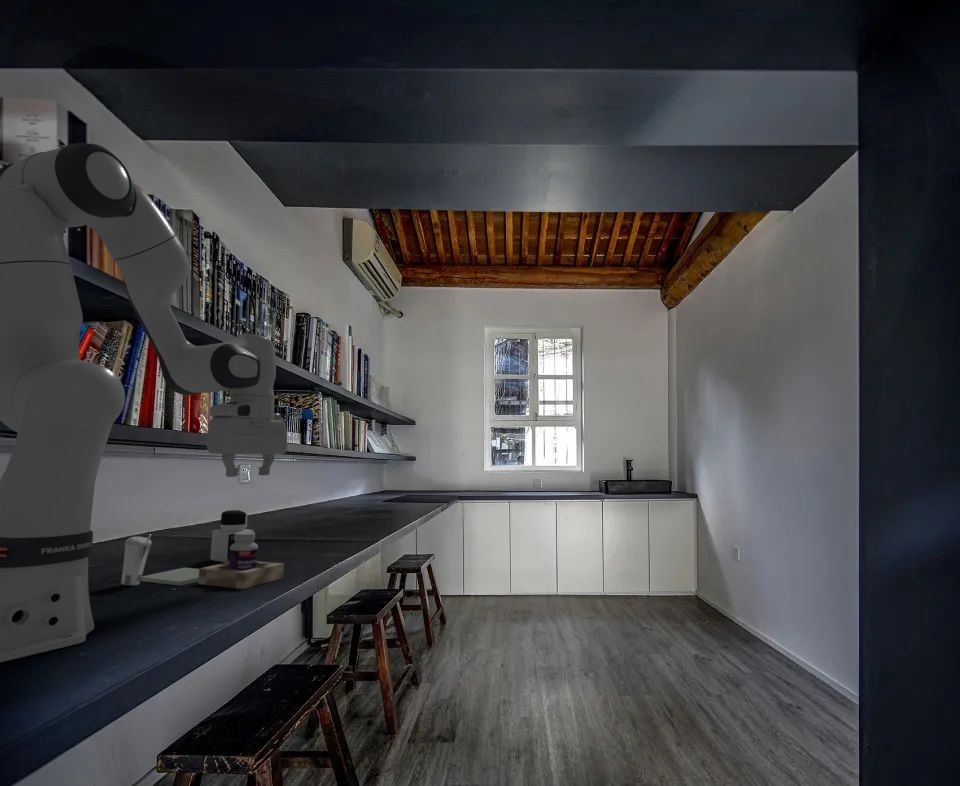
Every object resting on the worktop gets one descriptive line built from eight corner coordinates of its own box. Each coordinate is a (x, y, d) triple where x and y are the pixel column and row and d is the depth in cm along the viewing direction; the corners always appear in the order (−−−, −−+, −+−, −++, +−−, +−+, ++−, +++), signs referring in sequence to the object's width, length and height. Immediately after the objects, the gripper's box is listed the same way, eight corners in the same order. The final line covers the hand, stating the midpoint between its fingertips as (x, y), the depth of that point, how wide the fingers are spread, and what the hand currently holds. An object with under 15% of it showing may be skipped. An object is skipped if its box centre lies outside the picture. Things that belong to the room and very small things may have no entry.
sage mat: (180, 585, 112) (180, 581, 112) (139, 580, 116) (139, 576, 116) (222, 575, 122) (223, 571, 122) (184, 571, 126) (184, 567, 126)
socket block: (243, 589, 110) (244, 572, 110) (198, 583, 114) (199, 567, 114) (283, 578, 121) (284, 562, 121) (240, 573, 125) (241, 558, 125)
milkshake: (128, 588, 109) (139, 535, 110) (112, 582, 111) (122, 531, 113) (150, 585, 113) (161, 534, 114) (134, 580, 115) (145, 530, 117)
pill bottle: (236, 585, 114) (239, 535, 115) (222, 581, 117) (225, 533, 118) (261, 580, 118) (264, 532, 119) (246, 577, 121) (249, 530, 122)
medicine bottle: (227, 563, 136) (230, 512, 137) (209, 560, 140) (213, 510, 141) (253, 559, 142) (255, 510, 143) (235, 556, 146) (238, 508, 147)
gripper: (273, 414, 132) (270, 474, 131) (203, 407, 113) (198, 477, 112) (295, 414, 130) (292, 474, 128) (228, 406, 111) (223, 478, 109)
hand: (248, 476), depth 120 cm, fingers open, 8 cm apart
